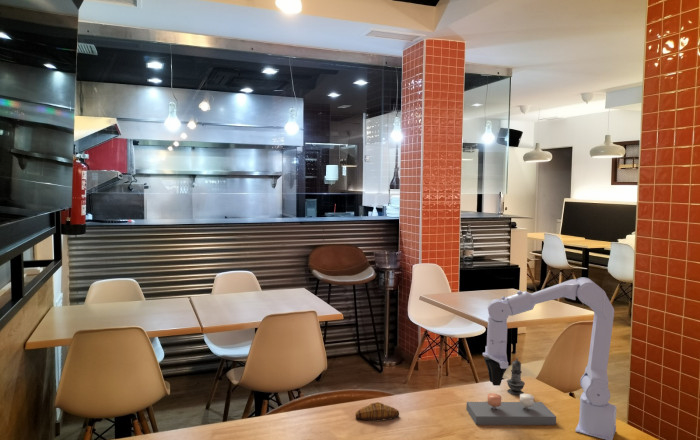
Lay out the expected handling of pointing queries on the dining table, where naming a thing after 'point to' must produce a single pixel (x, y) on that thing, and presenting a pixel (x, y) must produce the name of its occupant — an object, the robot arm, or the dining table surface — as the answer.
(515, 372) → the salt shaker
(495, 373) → the robot arm
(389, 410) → the croissant
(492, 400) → the knob
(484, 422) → the control board
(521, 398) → the knob
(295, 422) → the dining table surface
